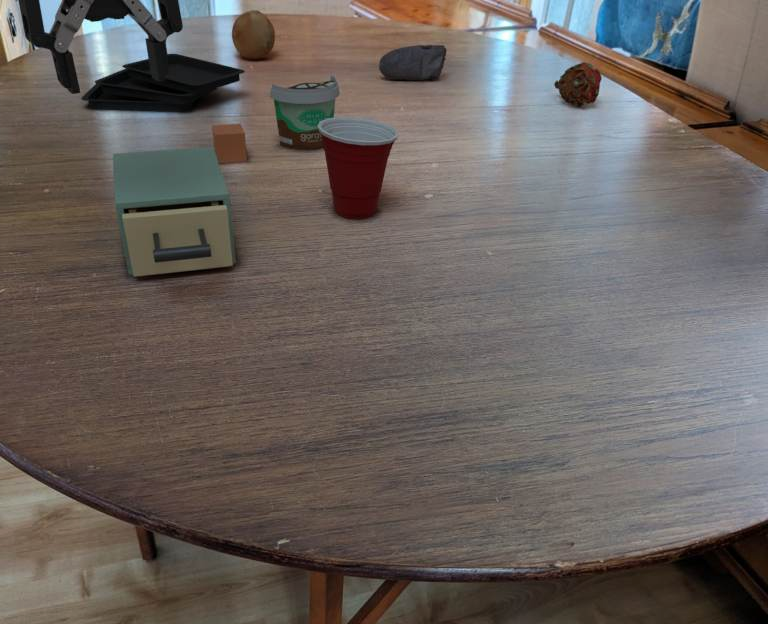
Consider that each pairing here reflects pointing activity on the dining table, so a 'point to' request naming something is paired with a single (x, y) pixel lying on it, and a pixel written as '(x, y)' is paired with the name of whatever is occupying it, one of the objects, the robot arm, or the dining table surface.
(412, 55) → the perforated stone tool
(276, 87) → the food container
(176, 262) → the drawer
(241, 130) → the block
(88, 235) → the dining table surface
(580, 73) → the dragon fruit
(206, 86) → the tray
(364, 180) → the plastic cup
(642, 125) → the dining table surface
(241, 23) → the brown oval lump
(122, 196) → the cabinet
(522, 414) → the dining table surface
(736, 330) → the dining table surface
